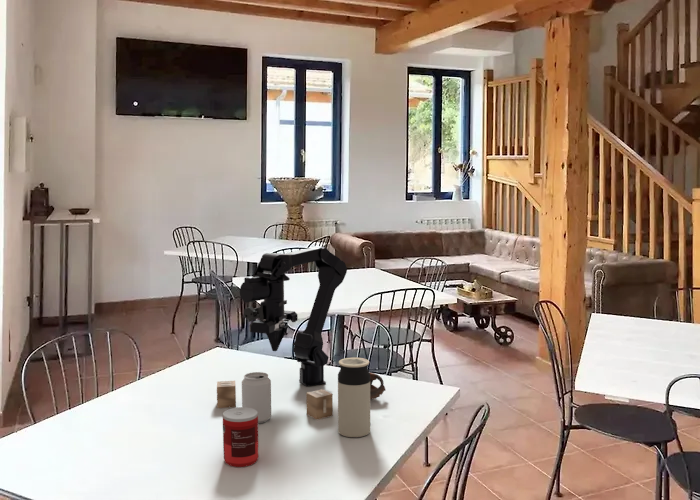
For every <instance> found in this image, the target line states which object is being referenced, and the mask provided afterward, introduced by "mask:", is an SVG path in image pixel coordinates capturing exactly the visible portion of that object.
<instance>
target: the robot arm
mask: <svg viewBox="0 0 700 500" xmlns="http://www.w3.org/2000/svg"><path fill="white" fill-rule="evenodd" d="M309 263H313V265H314V267H316V268H317V269H318V273H317V277H318V283H319V287H318V289H317V293H316V294H315V295H316V296H315V299H314V301H313V306H312V309H311V312H310V313H309V314H310V315H309V318H308V321H307V324H306V326H305V329H304V330H303V331H302V332H299V331H298V332H297V333H296V335H295V340H294V341H293V343H292V345H293V349H292V351H293V354H294V356H295V358H296V362H298V363H300V367H299V380H298V381H299V382H300V383H301V384H302V385H304V386H305V387H312V386H317V385H319V386H320V385H326V383H327V382H326V381H325V377H324V376H325V375H324V372H325V371H324V369H325V368H324V366H325V365H327V364H328V361H329V356H328V354H327V353H326V352H325V351H324V350H323V347H324V340H323V335H322V333H323V329H324V326H325V323H326V319H327V317H328V314H329V310H330V308H331V304H332V301H333V297H334V294H335V291H336V289H337V288H338V287H339V286H340V285H341V284H342V283H343V281H344V279H345V277H346V276H347V275H346V274H347V273H348V272H347V271H348V267H347V264H346V262H345V261H344V260H341V258H340V257H338V256H336V255H335V254H334V253H332V252H330V250H329V249H328V248H326V247H325V246H318V245H317V246H316V245H314V246H311V247H308V248H304V249H300V250H294V251H291V252H287V253H286V252H285V253H280V252H279V253H278V252H271V253H268V252H266V253H263V254H262V256H261V258H260V261H259V263H258V264H257V267H256V269H255V270H254V272H253V274H252V277H248V276H247V277H244V279H243V280H244V281H243V282H242V283H241V285H240V288H239V296H240V298H241V300H242V301H243V302H245V303H253V302H258V301H260V304H259V306H258V307H255V308H254V307H253V306H248V307H245V308H244V310H243V311H244V312H243V319H246V320H248V321H247V322H250V324H249V332H250V333H255V334H256V333H257V334H265V335H266V337H267V339H268V342H269V344H270V347H271V350H272V351H273V352H277V351H278V349H279V347H280V346H281V343H282V341H283V338H284V336H285V334H286V332H287V330H288V329H289V327H290V326H289V325H288V324H285V321H290V322H291V323H296V322H298V320H299V319H298V313H297V312H296V311H294V310H285V305H287V304H288V302H287V301H288V300H287V299H285V282H287V281H290V277H289V276H287V275H286V273H287V272H289V271H290V270H291V269H292V268H294V267H298V266H301V265H305V264H309Z"/></svg>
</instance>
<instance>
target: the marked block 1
mask: <svg viewBox="0 0 700 500" xmlns="http://www.w3.org/2000/svg"><path fill="white" fill-rule="evenodd" d="M236 389H237V388H236V380H225V381H224V380H222V381H216V401H217V402H216V403H217V409H225V408H226V409H227V408H229V409H230V408H237V395H236V393H237V392H236V391H237V390H236Z"/></svg>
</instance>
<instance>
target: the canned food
mask: <svg viewBox="0 0 700 500" xmlns="http://www.w3.org/2000/svg"><path fill="white" fill-rule="evenodd" d="M222 441H223V442H222V443H223V459H224V463H225V464H226V465H228V466H229V467H233V468H245V467H250V466H253V465H254V464H256V463H257V462H258V461H259V423H258V413H257V411H256V410H255V409H252V408H247V407H242V406H240V407H237V406H236V407H231V408H229V409H226V410H224V411H223V413H222Z"/></svg>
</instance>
